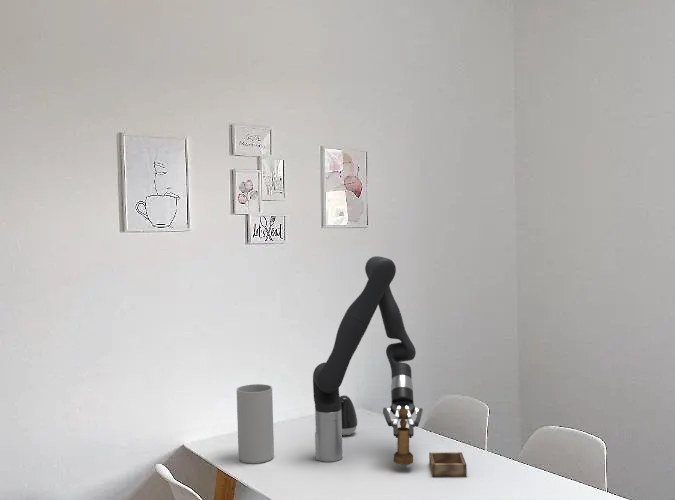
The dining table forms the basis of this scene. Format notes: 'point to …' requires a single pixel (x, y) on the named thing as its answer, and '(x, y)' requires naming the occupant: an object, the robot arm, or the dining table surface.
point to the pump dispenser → (348, 416)
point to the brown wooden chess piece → (403, 442)
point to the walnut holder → (447, 464)
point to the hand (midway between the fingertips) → (403, 436)
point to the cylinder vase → (255, 423)
